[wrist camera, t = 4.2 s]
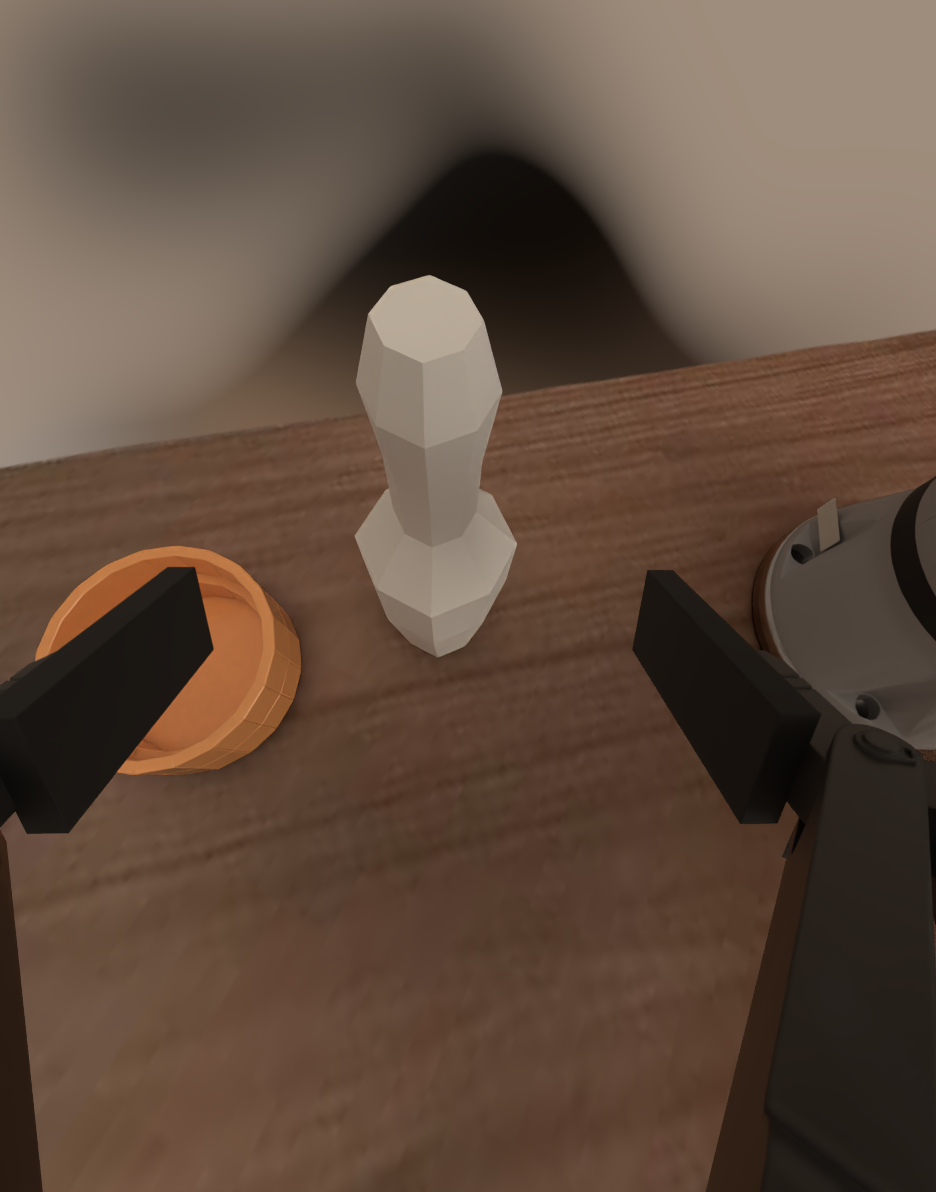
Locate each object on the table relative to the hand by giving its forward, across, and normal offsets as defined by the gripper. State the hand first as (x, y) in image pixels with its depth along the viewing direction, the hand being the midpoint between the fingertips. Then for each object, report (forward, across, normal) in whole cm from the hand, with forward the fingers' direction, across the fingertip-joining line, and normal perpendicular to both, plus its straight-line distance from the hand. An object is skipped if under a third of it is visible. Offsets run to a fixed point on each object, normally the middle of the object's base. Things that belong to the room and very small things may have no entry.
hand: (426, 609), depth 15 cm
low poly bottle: (+14, 0, -8) cm, 17 cm away
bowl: (+12, -14, -10) cm, 21 cm away
